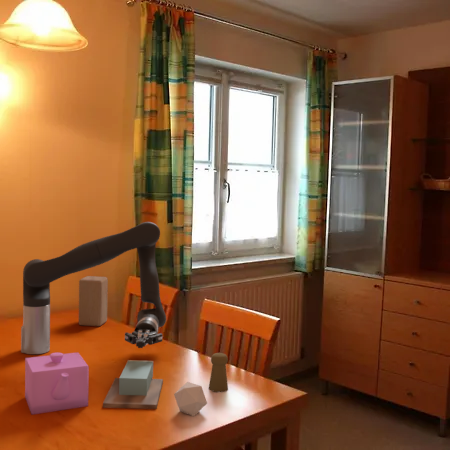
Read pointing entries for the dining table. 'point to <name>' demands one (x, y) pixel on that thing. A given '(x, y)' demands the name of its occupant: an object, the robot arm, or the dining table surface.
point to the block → (93, 300)
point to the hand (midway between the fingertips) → (140, 344)
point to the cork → (218, 373)
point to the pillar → (136, 378)
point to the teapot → (56, 382)
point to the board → (134, 397)
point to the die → (190, 398)
